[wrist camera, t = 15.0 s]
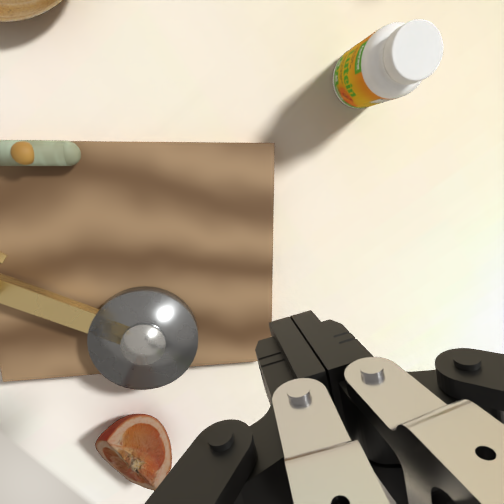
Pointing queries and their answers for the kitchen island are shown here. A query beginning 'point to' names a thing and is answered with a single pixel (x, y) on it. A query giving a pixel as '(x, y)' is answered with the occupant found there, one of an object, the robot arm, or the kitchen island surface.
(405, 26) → the supplement bottle
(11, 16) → the plant saucer
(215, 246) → the levelling board
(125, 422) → the fruit slice
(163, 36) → the kitchen island surface
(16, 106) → the kitchen island surface
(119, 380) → the grey and tan lever
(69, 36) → the kitchen island surface
